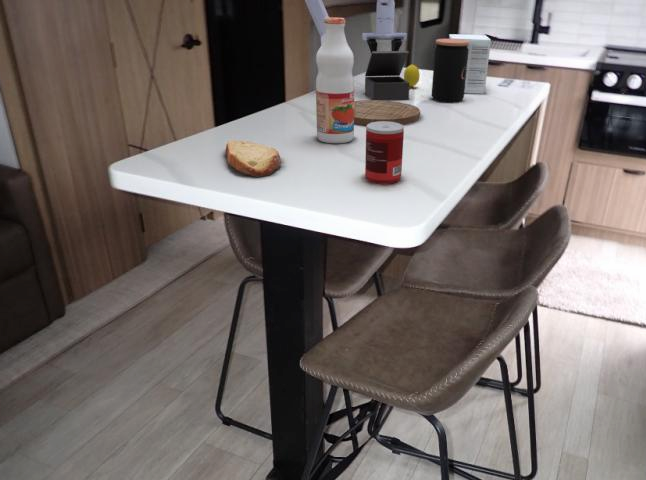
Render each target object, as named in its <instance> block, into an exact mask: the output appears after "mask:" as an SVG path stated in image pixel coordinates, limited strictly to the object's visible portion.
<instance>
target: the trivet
mask: <svg viewBox="0 0 646 480" xmlns="http://www.w3.org/2000/svg"><path fill="white" fill-rule="evenodd" d="M420 118H421V110H420V108H419V107H417V106H415V105H413V104H410V103H405V102H402V101H396V100H372V99H364V100H354V125H358V126H365V127H367V124H369V123H372V122H379V121H388V122H396V123H399V124H401V125H403V126H404V125H405V126H407V125H409V124H413V123H414V124H415V122H417V121H419V120H420Z"/></svg>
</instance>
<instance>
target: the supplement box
mask: <svg viewBox="0 0 646 480" xmlns="http://www.w3.org/2000/svg"><path fill="white" fill-rule="evenodd" d="M448 39H462V40H468V41H469V45H468V46H467V48H468V50H469V51H468V61H467V71H466V81H465V90H464V94H478V95H479V94H481V95H483V94H486V84H487V76H488V67H489V60H490V50H491V44H492V39H491V38H489V36H487V35H486V34H460V33H459V34H458V33H457V34H454V33H452V34H451V33H450V34H448Z"/></svg>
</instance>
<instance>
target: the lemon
mask: <svg viewBox="0 0 646 480" xmlns="http://www.w3.org/2000/svg"><path fill="white" fill-rule="evenodd" d="M420 75H421V74H420V70H419V68H418V66H417V65H414V64H413V63H411V64H410V65H408V66H407V67H406V68H405V70H404V73H403V79H404V80H406V81H408V82H409V89H410V88H411V89H412V88H414V86H416V85H417V84H418V83H419V81H420V77H421V76H420Z"/></svg>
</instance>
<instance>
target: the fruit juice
mask: <svg viewBox="0 0 646 480" xmlns="http://www.w3.org/2000/svg"><path fill="white" fill-rule="evenodd" d="M324 25H325V27H326V31H325V36H324V40H323V43H322V45H321V44H320V47H319V48H318V50H317V52H316V55H315V64H316V68H317V75H316V79H315V101H316V102H315V106H316V108H315V111H316V113H315V114H316V115H315V116H316V137H317V140H319V141H320V142H322V143H327V144H346V143H349V142H351V141H353V140H354V135H355V124H354V101H355V79H354V75H353V69H354V68H353V67H354V64H355V55H354V53H353V51H352V49H351V47H350V46H349V43H348V41H347V38H346V33H345V27H346V18H344V17H335V16H334V17H333V16H331V17H330V16H329V17H328V18H325V19H324Z"/></svg>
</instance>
